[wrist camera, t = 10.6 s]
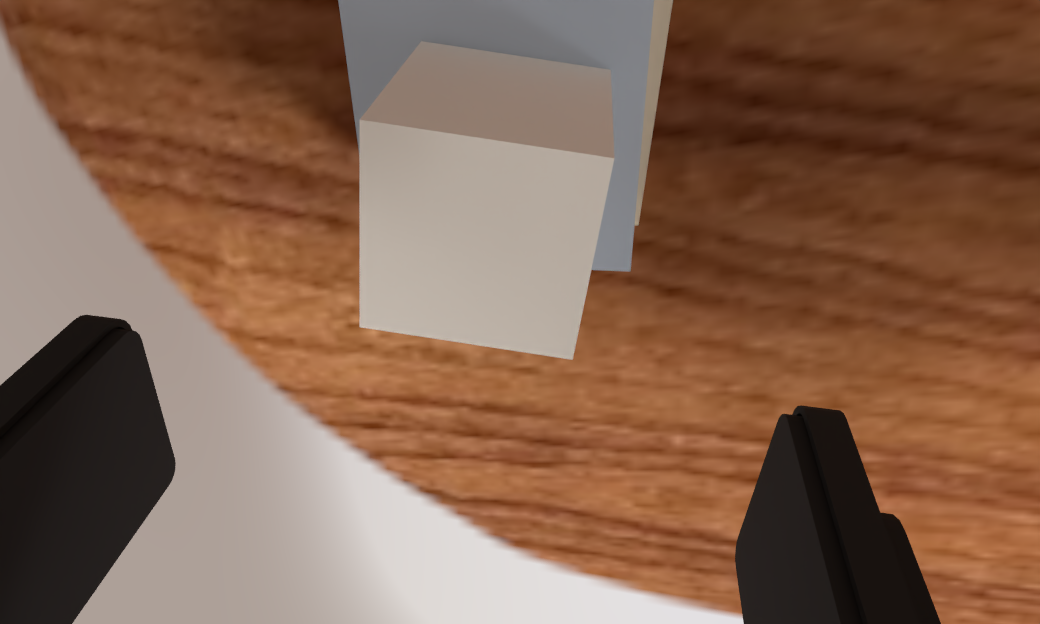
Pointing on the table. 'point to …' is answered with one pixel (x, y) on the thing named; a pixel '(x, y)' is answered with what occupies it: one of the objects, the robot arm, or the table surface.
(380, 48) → the tower top
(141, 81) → the table surface
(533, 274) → the white block
